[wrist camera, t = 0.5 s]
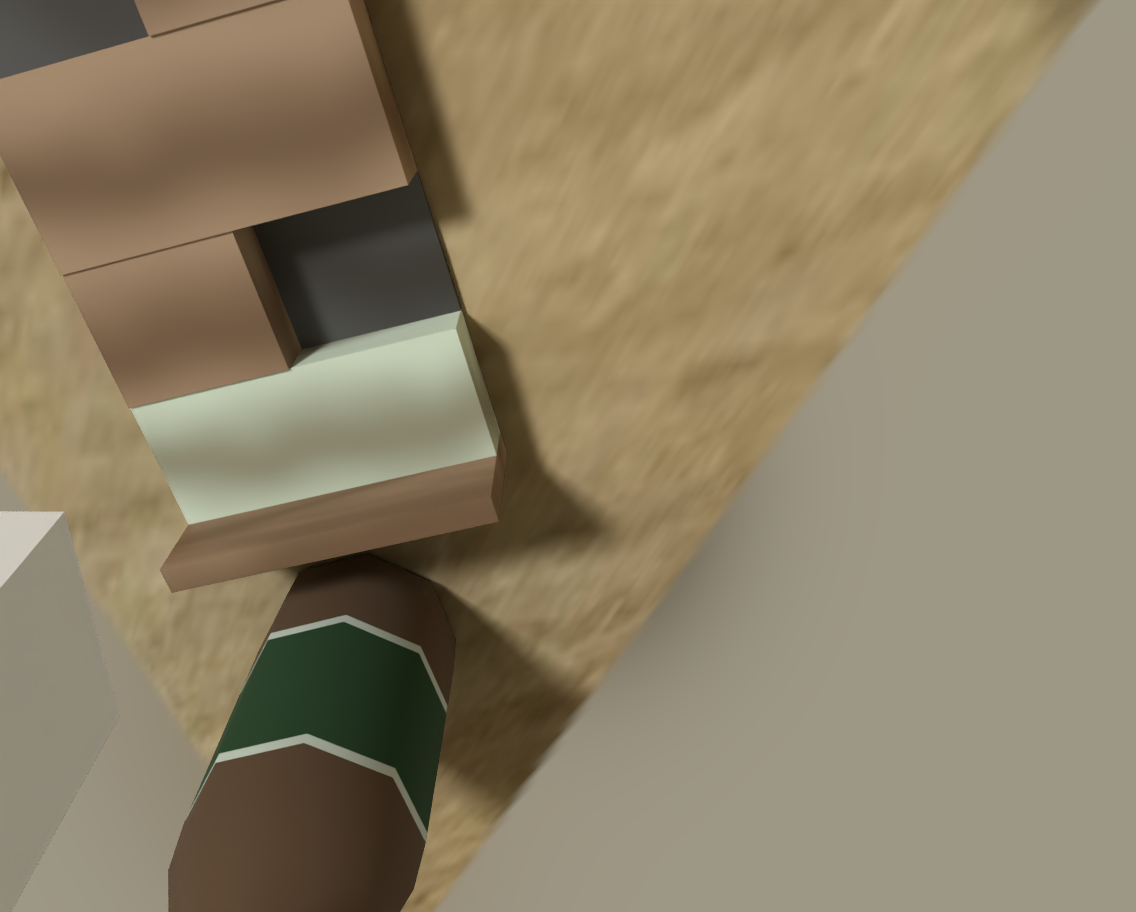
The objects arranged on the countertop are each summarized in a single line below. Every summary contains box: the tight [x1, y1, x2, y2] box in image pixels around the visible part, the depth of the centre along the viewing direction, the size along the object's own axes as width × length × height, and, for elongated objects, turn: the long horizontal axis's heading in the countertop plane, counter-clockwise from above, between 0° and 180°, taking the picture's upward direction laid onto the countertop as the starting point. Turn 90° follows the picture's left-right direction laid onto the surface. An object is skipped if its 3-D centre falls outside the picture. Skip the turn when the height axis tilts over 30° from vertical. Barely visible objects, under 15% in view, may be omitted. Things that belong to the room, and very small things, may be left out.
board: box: [0, 0, 507, 593], centre depth 31 cm, size 27×12×5 cm, turn 14°
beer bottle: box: [168, 554, 456, 912], centre depth 32 cm, size 8×8×24 cm
